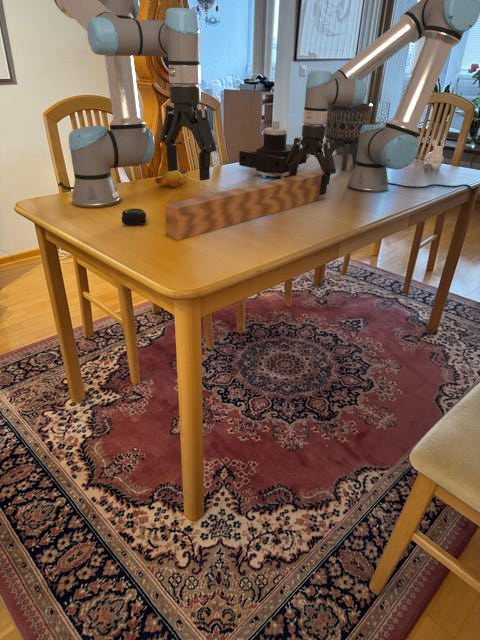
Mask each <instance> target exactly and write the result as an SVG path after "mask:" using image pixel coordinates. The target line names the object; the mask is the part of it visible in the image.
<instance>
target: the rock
mask: <svg viewBox="0 0 480 640" xmlns="http://www.w3.org/2000/svg"><path fill="white" fill-rule="evenodd" d="M334 153H336V154H341V155H342V147H340V148H338V149H336V150H335V151H334ZM348 155H352V153H351V151H350V150H349V152H348Z"/></svg>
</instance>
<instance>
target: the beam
mask: <svg viewBox="0 0 480 640" xmlns="http://www.w3.org/2000/svg"><path fill="white" fill-rule="evenodd" d="M322 175H324V173H323V172H320V171H315V170H314V171H310V172H306V173H302V174H297V175H296V176H291V177H290V176H287V177H284V178H279V179H273V180H269V181H266V182H260V183H256V184H250V185H246V186H242V187H238V188H233V189H229V190H228V189H227V190H224V191H220V192H215V193H211V194H207V195H202V196H197V197H192V198H188V199H183V200H179V201H175V202H170V203H166V204H164V213H165V215H164V216H165V228H166V229H165V230H166V231H165V232H166V236H167V237H169V238H171V239H173V240H177V241H180V240H184V239H188V238H191V237H195V236H198V235H201V234H205V233H208V232H212V231H216V230H218V229H222V228H226V227H230V226H233V225H237V224H239V223H243V222H247V221H251V220H253V219H254V220H255V219H257V218H261V217H264V216H267V215H271V214H275V213H278V212H281V211H285V210H289V209H293V208H295V207H296V208H297V207H301V206H303V205H306V204H311V203H313V202H317V201H321V200H324V199H325V194H323V195H319V194H320V185H321V177H322Z"/></svg>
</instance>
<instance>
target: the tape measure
mask: <svg viewBox="0 0 480 640" xmlns="http://www.w3.org/2000/svg"><path fill="white" fill-rule="evenodd" d="M146 218H147V214H146V212H145V210H144V209H142V208H137V207H135V208H127V209H125V210H123V211H122V213H121V222H122V224H124V225H129V226H130V225H131V226H137V225H146V224H147V219H146Z"/></svg>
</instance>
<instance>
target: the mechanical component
mask: <svg viewBox="0 0 480 640" xmlns="http://www.w3.org/2000/svg"><path fill="white" fill-rule="evenodd" d="M287 138H288V129H287V128H286V127H280V121H279V120H272V126H271V127H265V128H264V129H263V145H262V146H258V147H257V148H256V151H250V150H245V149H241V150H239V153H238V154H239V155H238V157H239V159H238V166H240V167H245V168H250V169H255V173H256V174H257V175H261V177H262V178H267V177H279V179H282V178H285V176H289V166H288V165H287V164H285V161H286V159H287V157H288V155H289V153H290V151H291V148H292V146H293V144H290V143H287ZM301 148H302V147H301V146H300V147H299V149H298V151H297V153H296V155H297V154H298V153H299V150H300V149H301ZM296 155H295V156H296ZM310 156H311V155H310V154H305V155H304V156H303V157H302V159H301V160H300V161H299V162H298V163H297V165H296V166H295V167H297V172H298V171H299V167H300V165H303V164H304V165H305V164H307V160H309V158H310Z"/></svg>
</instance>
